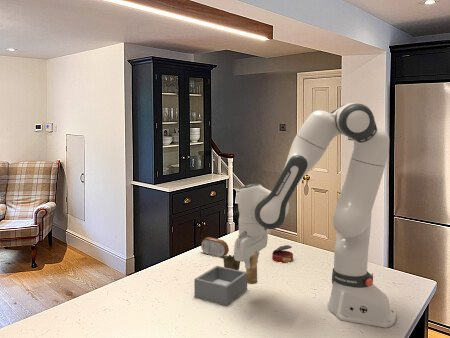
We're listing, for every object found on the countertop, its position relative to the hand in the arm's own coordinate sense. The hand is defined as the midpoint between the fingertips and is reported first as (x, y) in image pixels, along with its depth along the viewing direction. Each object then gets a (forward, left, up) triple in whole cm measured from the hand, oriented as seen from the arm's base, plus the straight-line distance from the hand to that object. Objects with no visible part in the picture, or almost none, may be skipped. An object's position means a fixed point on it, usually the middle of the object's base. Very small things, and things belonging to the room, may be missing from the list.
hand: (251, 265), depth 142 cm
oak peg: (0, 0, -6) cm, 6 cm away
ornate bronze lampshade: (+18, -17, -14) cm, 28 cm away
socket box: (+13, 0, -13) cm, 18 cm away
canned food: (+7, -47, -14) cm, 49 cm away
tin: (+38, -35, -14) cm, 53 cm away
